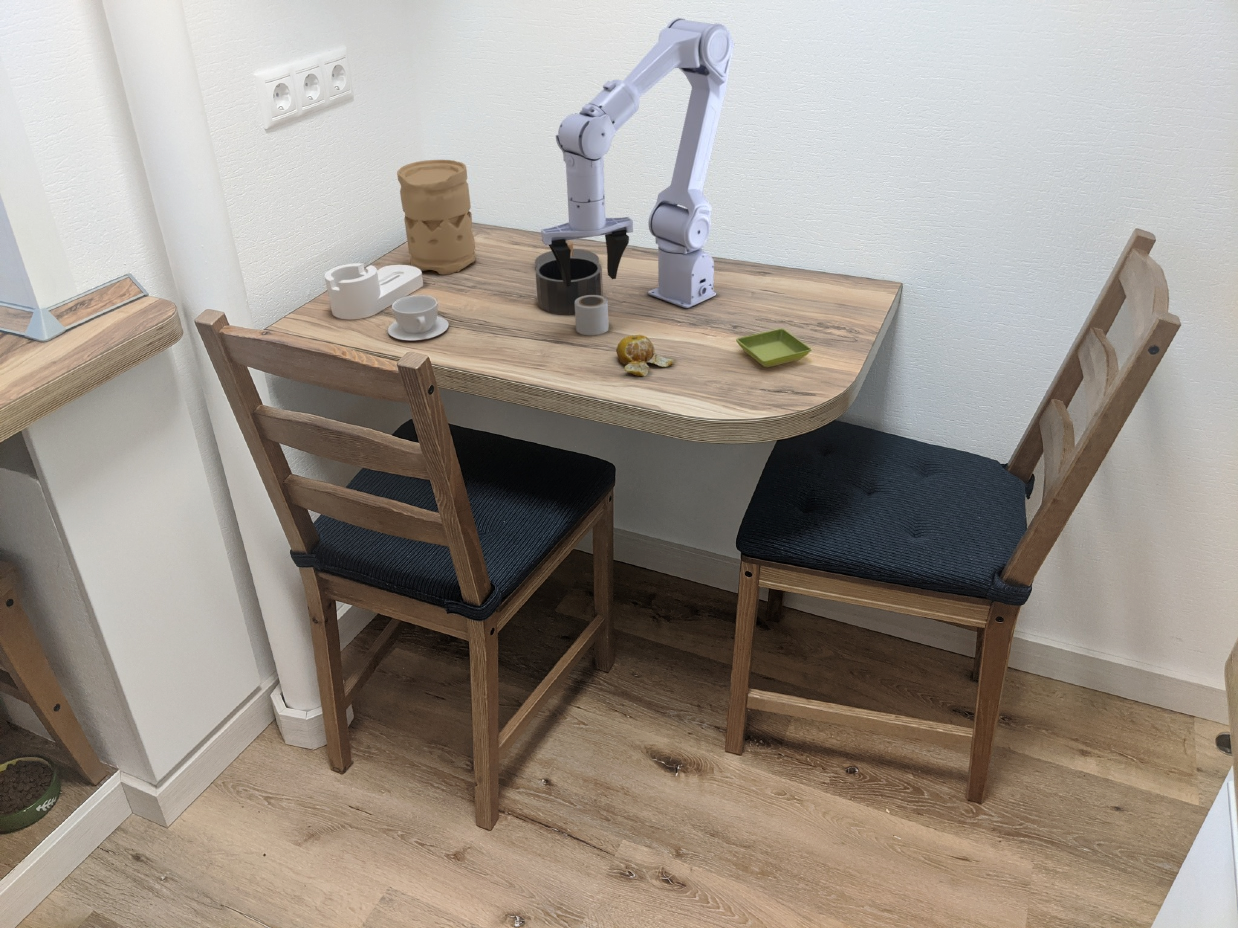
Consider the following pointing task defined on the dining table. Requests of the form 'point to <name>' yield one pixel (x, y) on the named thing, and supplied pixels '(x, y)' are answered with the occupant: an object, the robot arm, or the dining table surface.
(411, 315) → the teacup
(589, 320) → the tape roll
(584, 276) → the pot
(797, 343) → the saucer
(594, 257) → the lid
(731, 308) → the dining table surface
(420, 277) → the bracket
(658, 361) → the fruit
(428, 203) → the container
